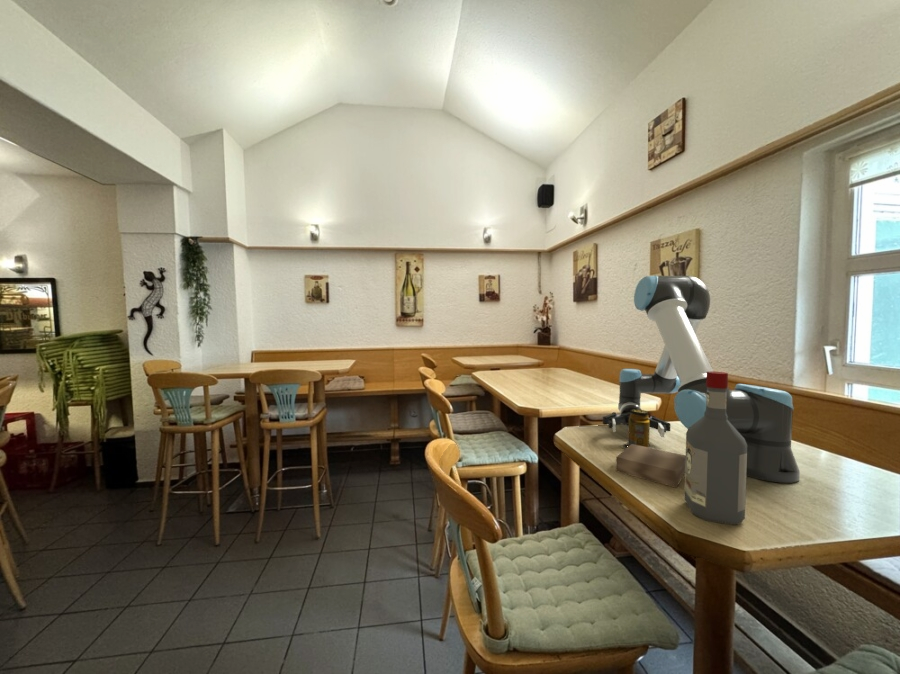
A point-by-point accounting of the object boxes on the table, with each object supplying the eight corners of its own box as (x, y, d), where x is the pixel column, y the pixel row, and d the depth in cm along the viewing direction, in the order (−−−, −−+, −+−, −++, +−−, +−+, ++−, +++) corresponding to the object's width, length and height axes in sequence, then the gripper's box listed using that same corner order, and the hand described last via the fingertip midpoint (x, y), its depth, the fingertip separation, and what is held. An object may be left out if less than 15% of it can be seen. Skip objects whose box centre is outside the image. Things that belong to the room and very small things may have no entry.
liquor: (730, 505, 77) (734, 370, 76) (749, 528, 69) (754, 376, 68) (681, 498, 81) (685, 369, 79) (694, 519, 72) (698, 374, 71)
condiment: (653, 447, 114) (654, 411, 114) (644, 454, 108) (645, 415, 108) (629, 442, 119) (630, 407, 119) (620, 448, 114) (620, 411, 113)
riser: (686, 470, 96) (686, 455, 96) (676, 487, 86) (676, 471, 86) (631, 456, 106) (631, 443, 106) (616, 471, 95) (616, 456, 95)
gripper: (670, 428, 126) (684, 447, 106) (595, 420, 136) (595, 437, 116) (670, 407, 126) (684, 422, 106) (595, 401, 135) (595, 414, 116)
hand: (638, 430), depth 111 cm, fingers open, 13 cm apart
